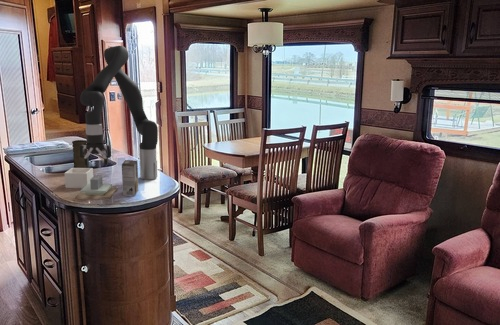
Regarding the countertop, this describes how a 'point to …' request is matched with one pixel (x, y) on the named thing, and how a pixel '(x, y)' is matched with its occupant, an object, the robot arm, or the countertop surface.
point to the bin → (78, 177)
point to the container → (78, 160)
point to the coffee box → (130, 178)
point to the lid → (96, 186)
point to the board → (105, 196)
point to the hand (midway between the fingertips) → (96, 165)
